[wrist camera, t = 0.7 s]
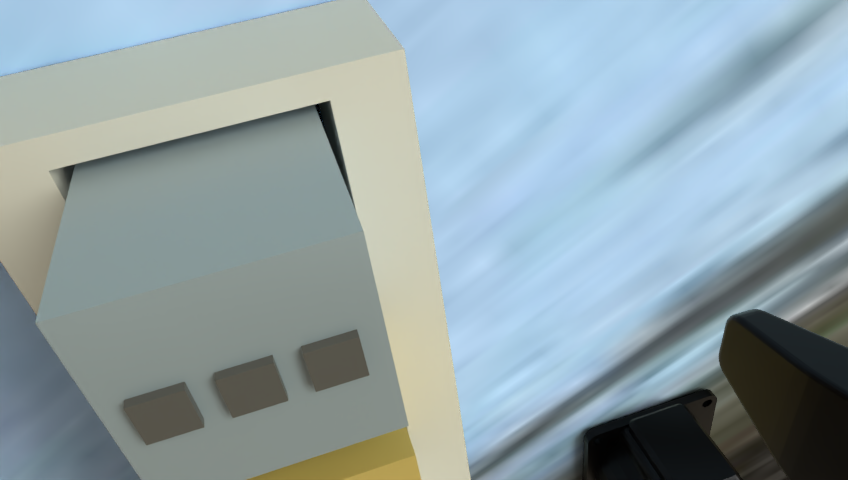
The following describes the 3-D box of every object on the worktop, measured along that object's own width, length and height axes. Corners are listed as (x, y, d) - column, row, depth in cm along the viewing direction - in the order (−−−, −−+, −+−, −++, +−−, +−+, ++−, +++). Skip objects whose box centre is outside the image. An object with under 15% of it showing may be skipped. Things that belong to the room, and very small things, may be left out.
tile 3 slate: (357, 277, 18) (411, 433, 14) (164, 334, 17) (160, 517, 13) (313, 103, 15) (366, 238, 11) (75, 163, 14) (32, 332, 10)
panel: (446, 448, 28) (479, 534, 25) (233, 520, 27) (240, 620, 24) (362, -6, 17) (404, 48, 14) (-17, 80, 15) (-66, 162, 12)
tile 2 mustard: (394, 420, 21) (444, 577, 17) (236, 472, 21) (250, 648, 16) (364, 305, 18) (418, 463, 14) (178, 361, 17) (178, 543, 13)
